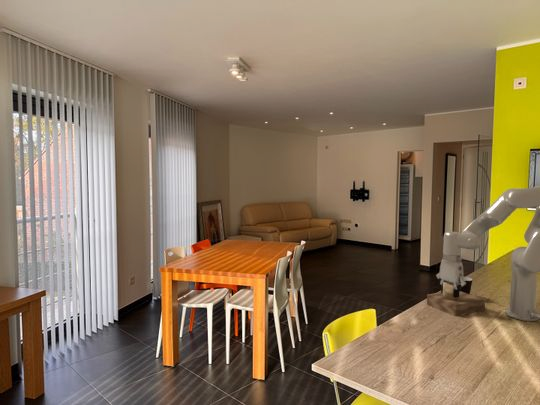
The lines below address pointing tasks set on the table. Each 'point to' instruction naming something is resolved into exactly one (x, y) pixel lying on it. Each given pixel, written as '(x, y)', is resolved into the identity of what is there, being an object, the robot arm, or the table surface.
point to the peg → (448, 291)
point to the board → (456, 303)
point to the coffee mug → (467, 285)
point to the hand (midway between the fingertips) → (449, 294)
